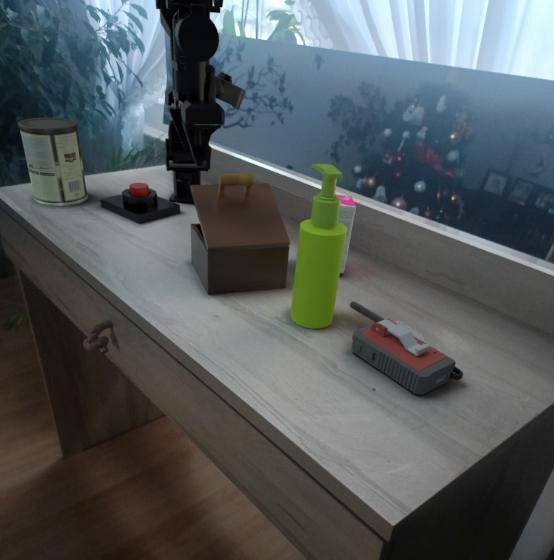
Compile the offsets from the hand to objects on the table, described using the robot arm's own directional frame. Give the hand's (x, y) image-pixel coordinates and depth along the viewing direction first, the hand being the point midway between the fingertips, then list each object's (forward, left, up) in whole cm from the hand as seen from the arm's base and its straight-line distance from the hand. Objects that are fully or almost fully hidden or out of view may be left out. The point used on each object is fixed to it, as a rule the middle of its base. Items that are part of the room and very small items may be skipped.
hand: (193, 158), depth 90 cm
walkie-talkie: (+37, +33, -12) cm, 51 cm away
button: (-5, -12, -9) cm, 16 cm away
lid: (+19, +11, -3) cm, 23 cm away
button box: (-5, -12, -12) cm, 18 cm away
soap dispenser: (+30, +23, -12) cm, 40 cm away
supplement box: (+13, +25, -12) cm, 31 cm away
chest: (+19, +11, -12) cm, 25 cm away
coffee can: (-7, -29, -12) cm, 32 cm away
